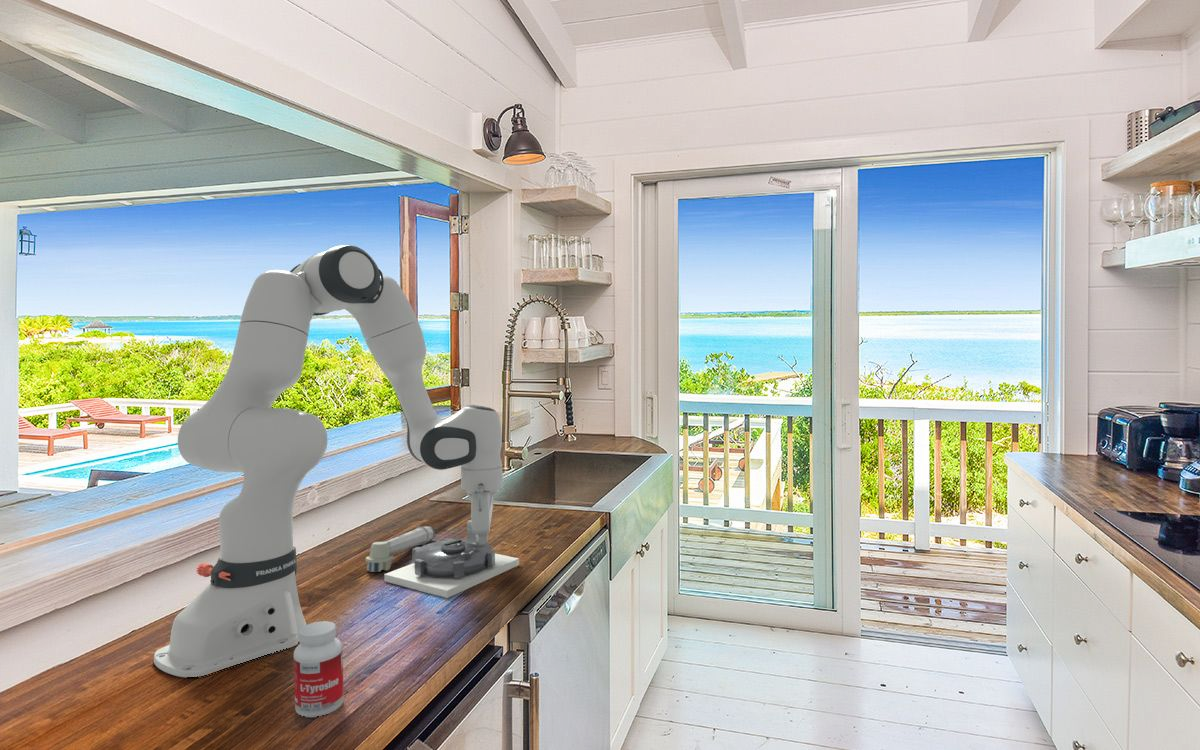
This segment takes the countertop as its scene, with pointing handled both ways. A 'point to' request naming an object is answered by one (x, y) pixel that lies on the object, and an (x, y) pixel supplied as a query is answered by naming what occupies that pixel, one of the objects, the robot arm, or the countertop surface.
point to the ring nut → (453, 557)
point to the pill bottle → (318, 670)
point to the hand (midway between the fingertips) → (483, 543)
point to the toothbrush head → (396, 547)
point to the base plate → (448, 578)
